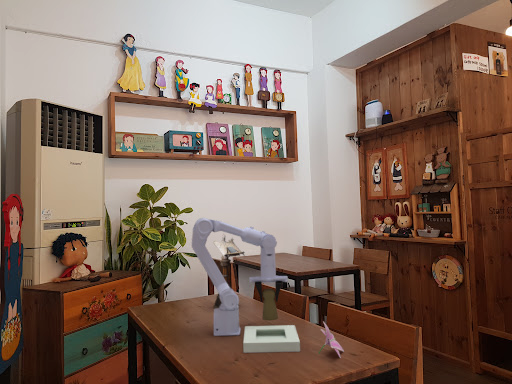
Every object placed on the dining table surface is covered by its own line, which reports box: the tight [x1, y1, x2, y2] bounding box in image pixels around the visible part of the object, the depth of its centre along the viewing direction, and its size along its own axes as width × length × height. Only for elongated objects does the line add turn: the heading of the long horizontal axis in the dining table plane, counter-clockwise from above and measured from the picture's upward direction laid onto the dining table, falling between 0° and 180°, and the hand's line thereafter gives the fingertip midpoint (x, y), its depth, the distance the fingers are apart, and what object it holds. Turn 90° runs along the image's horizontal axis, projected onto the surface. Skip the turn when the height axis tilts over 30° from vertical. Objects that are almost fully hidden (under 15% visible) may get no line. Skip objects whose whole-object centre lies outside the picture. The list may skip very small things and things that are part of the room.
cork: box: [262, 288, 279, 321], centre depth 147 cm, size 6×6×11 cm
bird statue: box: [212, 233, 245, 310], centre depth 179 cm, size 17×13×35 cm
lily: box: [318, 321, 345, 359], centre depth 119 cm, size 11×11×9 cm
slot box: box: [242, 324, 301, 354], centre depth 131 cm, size 18×18×3 cm
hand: (269, 301), depth 147 cm, fingers closed on cork, 5 cm apart
